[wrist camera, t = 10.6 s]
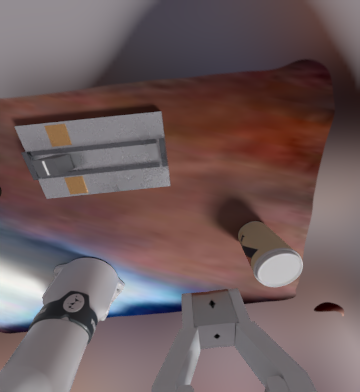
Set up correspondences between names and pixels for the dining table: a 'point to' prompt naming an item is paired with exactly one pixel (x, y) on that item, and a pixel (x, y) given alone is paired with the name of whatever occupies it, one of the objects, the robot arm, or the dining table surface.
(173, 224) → the dining table surface
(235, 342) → the robot arm
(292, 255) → the coffee cup
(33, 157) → the console
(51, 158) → the fader knob
